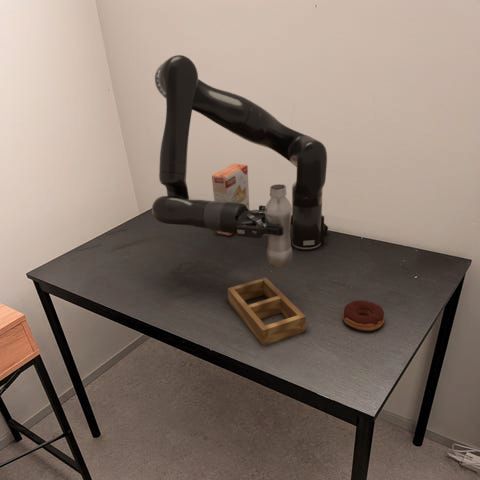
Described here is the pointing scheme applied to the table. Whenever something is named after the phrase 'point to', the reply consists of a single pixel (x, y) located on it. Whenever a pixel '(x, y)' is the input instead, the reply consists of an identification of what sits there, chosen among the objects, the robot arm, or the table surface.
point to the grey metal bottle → (280, 215)
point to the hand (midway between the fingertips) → (288, 225)
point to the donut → (357, 320)
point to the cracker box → (231, 186)
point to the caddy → (266, 311)
